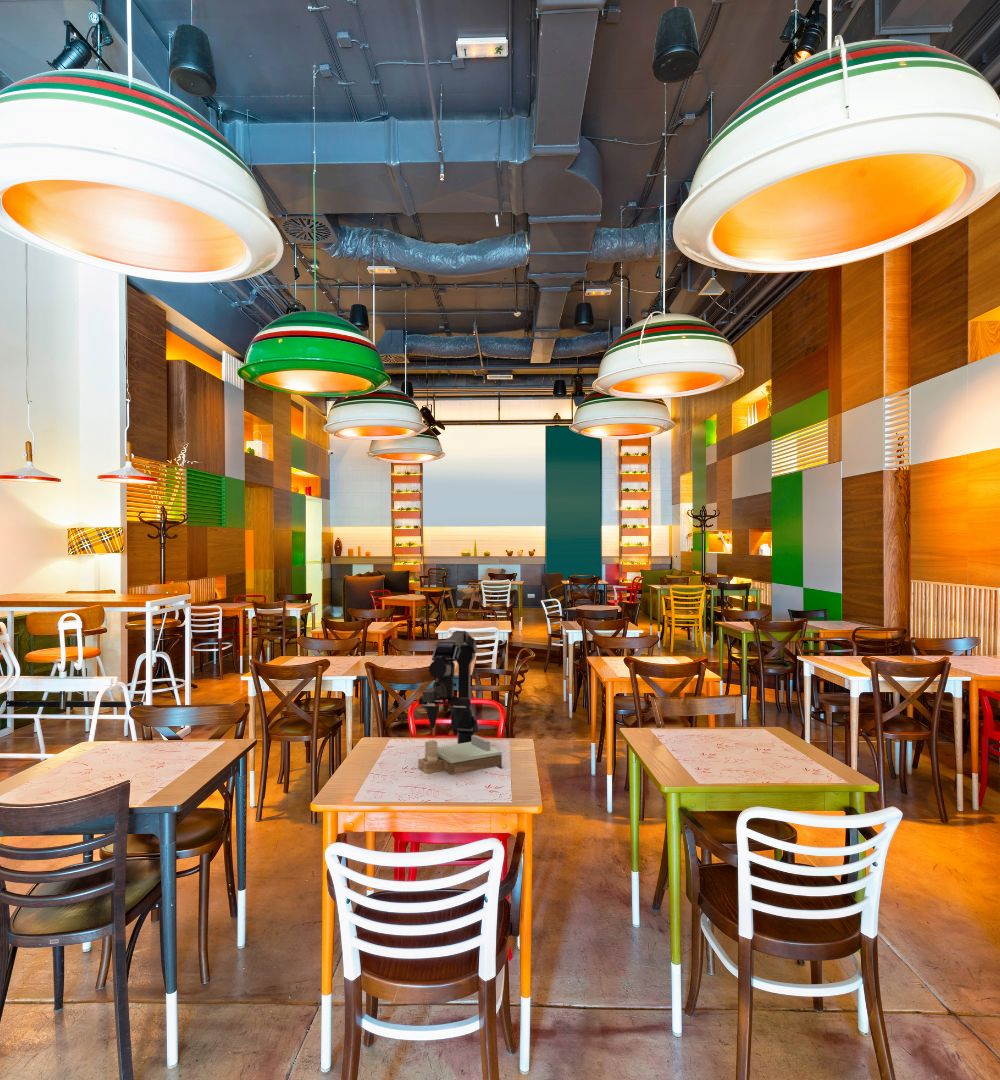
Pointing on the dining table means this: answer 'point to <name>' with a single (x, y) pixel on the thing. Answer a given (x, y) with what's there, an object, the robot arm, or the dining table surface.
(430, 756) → the brown wooden block
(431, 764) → the wooden box tray
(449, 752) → the lid
